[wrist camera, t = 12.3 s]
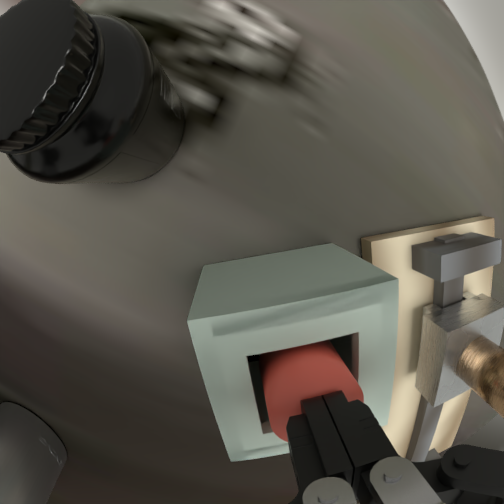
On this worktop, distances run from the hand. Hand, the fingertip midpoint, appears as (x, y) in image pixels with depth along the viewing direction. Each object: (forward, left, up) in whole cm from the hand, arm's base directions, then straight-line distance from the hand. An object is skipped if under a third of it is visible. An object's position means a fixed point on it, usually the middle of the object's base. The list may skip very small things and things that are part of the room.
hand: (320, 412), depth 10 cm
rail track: (+12, -9, -10) cm, 18 cm away
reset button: (0, 0, -4) cm, 4 cm away
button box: (0, 0, -10) cm, 10 cm away
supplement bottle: (-7, +13, -10) cm, 18 cm away
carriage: (+12, -4, -8) cm, 15 cm away
